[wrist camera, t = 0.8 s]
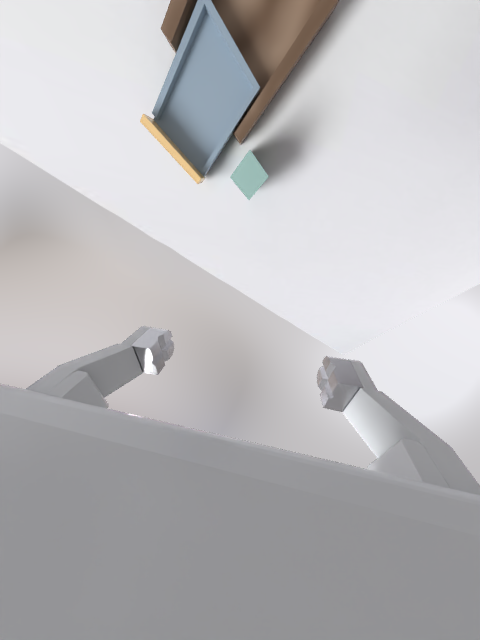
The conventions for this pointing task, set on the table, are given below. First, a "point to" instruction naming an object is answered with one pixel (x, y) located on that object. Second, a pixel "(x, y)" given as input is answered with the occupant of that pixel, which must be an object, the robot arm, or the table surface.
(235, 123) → the tray
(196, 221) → the table surface
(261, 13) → the dock
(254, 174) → the block
